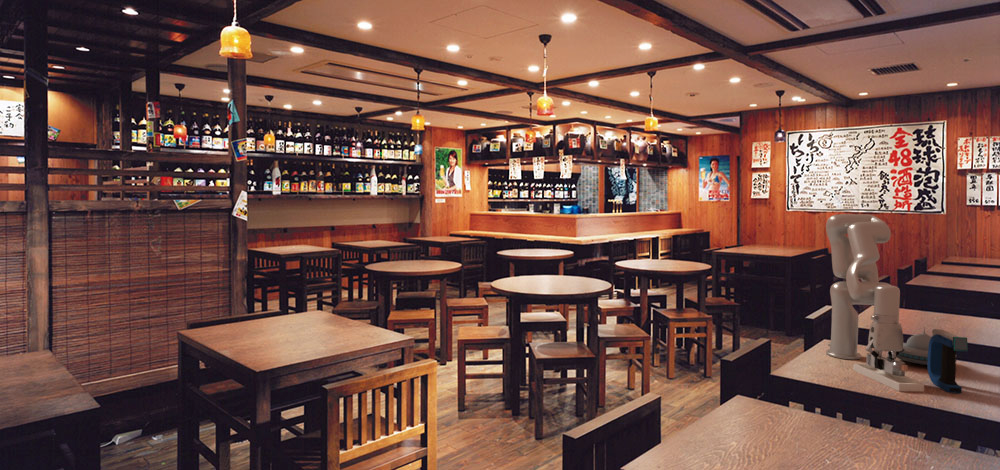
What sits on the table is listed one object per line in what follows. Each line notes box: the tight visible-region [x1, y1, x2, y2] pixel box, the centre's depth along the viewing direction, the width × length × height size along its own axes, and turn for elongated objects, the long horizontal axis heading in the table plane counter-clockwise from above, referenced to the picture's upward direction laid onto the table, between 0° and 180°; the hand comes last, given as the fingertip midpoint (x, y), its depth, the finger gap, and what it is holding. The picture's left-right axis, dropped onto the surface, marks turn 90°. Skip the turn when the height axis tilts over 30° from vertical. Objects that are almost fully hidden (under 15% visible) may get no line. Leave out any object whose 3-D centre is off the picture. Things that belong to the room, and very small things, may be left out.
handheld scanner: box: [926, 328, 968, 394], centre depth 187 cm, size 5×16×20 cm, turn 166°
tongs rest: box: [852, 363, 925, 392], centre depth 195 cm, size 24×9×3 cm, turn 0°
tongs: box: [865, 352, 908, 376], centre depth 195 cm, size 17×4×4 cm, turn 0°
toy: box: [896, 326, 958, 366], centre depth 216 cm, size 20×20×15 cm
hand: (884, 368), depth 196 cm, fingers closed on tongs, 3 cm apart
